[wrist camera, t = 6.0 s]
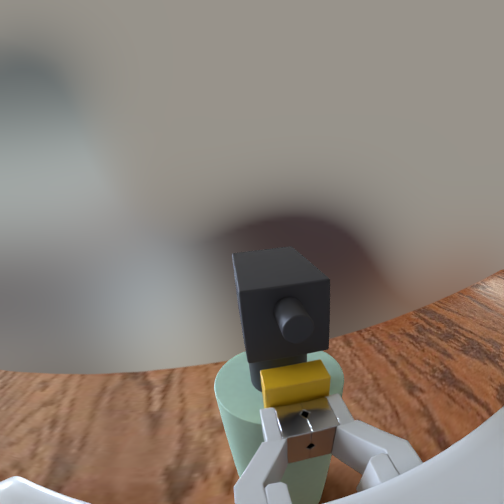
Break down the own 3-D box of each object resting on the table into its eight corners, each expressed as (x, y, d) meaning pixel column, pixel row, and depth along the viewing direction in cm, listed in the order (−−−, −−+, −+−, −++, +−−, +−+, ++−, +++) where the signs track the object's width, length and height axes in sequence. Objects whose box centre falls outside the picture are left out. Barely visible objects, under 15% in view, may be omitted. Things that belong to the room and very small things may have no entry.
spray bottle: (252, 534, 13) (174, 318, 7) (243, 470, 20) (197, 253, 15) (333, 518, 13) (398, 283, 8) (311, 458, 21) (318, 238, 16)
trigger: (269, 438, 9) (264, 390, 8) (265, 419, 10) (259, 369, 10) (326, 426, 9) (331, 376, 9) (318, 408, 10) (320, 358, 10)
